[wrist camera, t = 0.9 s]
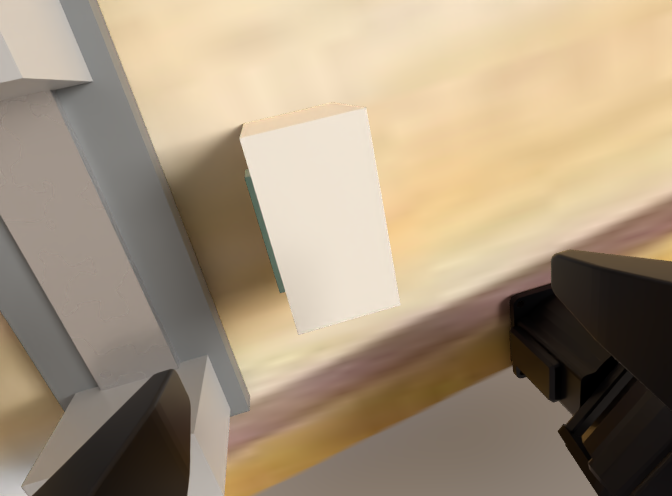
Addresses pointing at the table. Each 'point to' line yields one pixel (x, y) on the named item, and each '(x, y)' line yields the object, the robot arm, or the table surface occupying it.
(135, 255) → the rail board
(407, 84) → the table surface
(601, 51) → the table surface
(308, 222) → the block
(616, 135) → the table surface
